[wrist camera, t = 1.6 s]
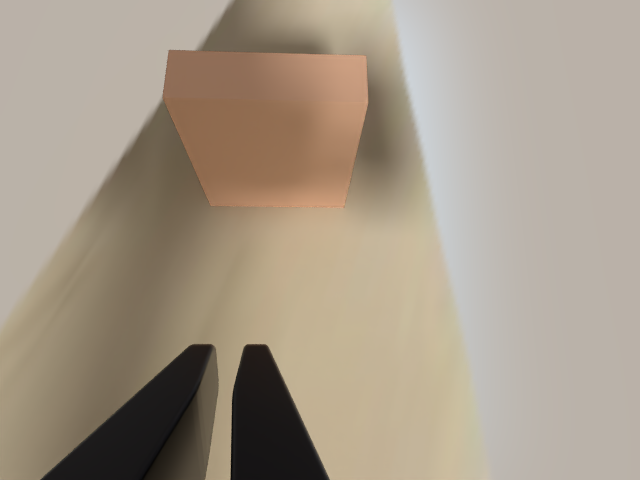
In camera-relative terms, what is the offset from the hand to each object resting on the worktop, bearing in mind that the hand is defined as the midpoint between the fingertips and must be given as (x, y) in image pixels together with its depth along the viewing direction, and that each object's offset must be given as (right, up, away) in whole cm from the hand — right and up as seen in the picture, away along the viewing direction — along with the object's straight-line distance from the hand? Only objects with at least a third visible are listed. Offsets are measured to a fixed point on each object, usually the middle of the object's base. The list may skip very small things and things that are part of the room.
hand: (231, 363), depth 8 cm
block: (-1, +5, +16) cm, 17 cm away
